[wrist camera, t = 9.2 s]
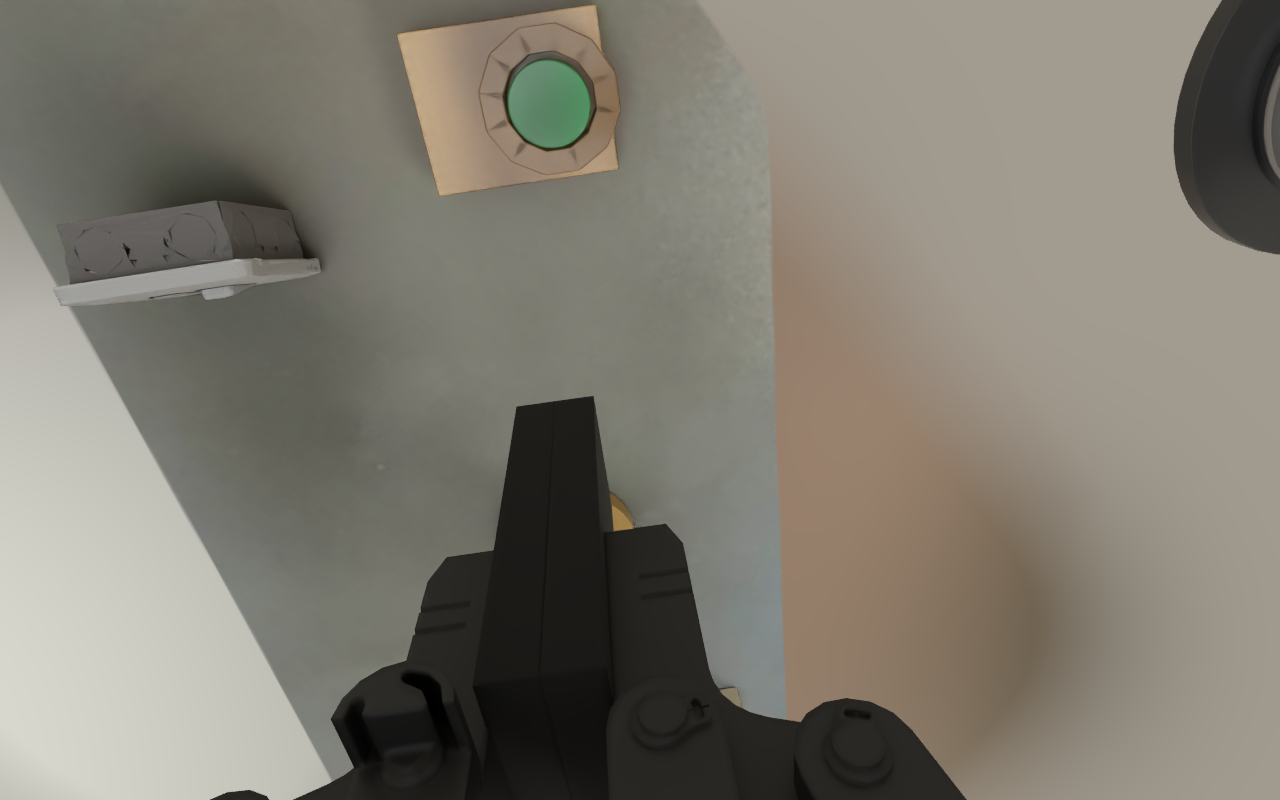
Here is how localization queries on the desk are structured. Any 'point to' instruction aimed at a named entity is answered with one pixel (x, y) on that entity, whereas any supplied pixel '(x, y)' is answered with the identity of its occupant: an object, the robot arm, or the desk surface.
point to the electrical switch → (180, 253)
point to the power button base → (506, 98)
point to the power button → (549, 103)
